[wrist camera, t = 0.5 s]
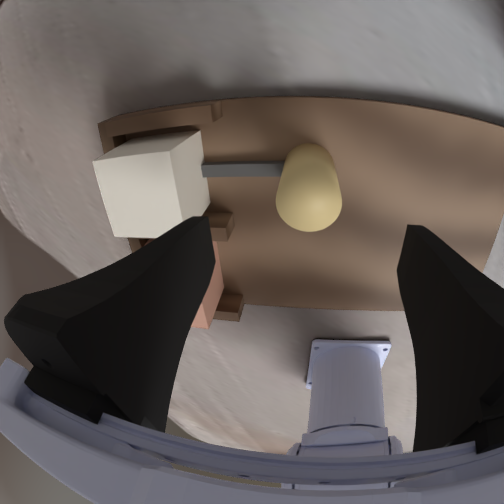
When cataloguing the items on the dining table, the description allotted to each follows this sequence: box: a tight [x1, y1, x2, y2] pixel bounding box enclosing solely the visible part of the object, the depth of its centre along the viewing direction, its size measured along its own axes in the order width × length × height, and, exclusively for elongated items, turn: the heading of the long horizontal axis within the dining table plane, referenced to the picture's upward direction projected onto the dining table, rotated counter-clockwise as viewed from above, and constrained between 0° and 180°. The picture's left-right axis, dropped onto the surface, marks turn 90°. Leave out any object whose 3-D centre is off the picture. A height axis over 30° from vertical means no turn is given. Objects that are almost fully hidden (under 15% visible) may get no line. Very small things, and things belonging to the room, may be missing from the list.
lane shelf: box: [98, 96, 504, 322], centre depth 19 cm, size 16×28×3 cm, turn 94°
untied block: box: [144, 239, 224, 329], centre depth 21 cm, size 5×5×4 cm
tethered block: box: [92, 130, 342, 238], centre depth 16 cm, size 5×13×5 cm, turn 94°
